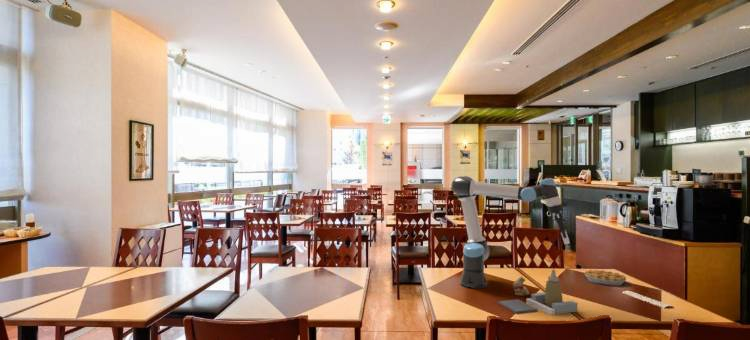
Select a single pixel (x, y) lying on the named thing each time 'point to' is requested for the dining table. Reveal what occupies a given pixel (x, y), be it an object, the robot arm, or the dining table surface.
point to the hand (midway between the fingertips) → (566, 242)
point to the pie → (605, 277)
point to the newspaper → (646, 299)
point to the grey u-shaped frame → (556, 307)
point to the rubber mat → (517, 306)
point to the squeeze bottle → (553, 290)
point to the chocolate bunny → (520, 287)
